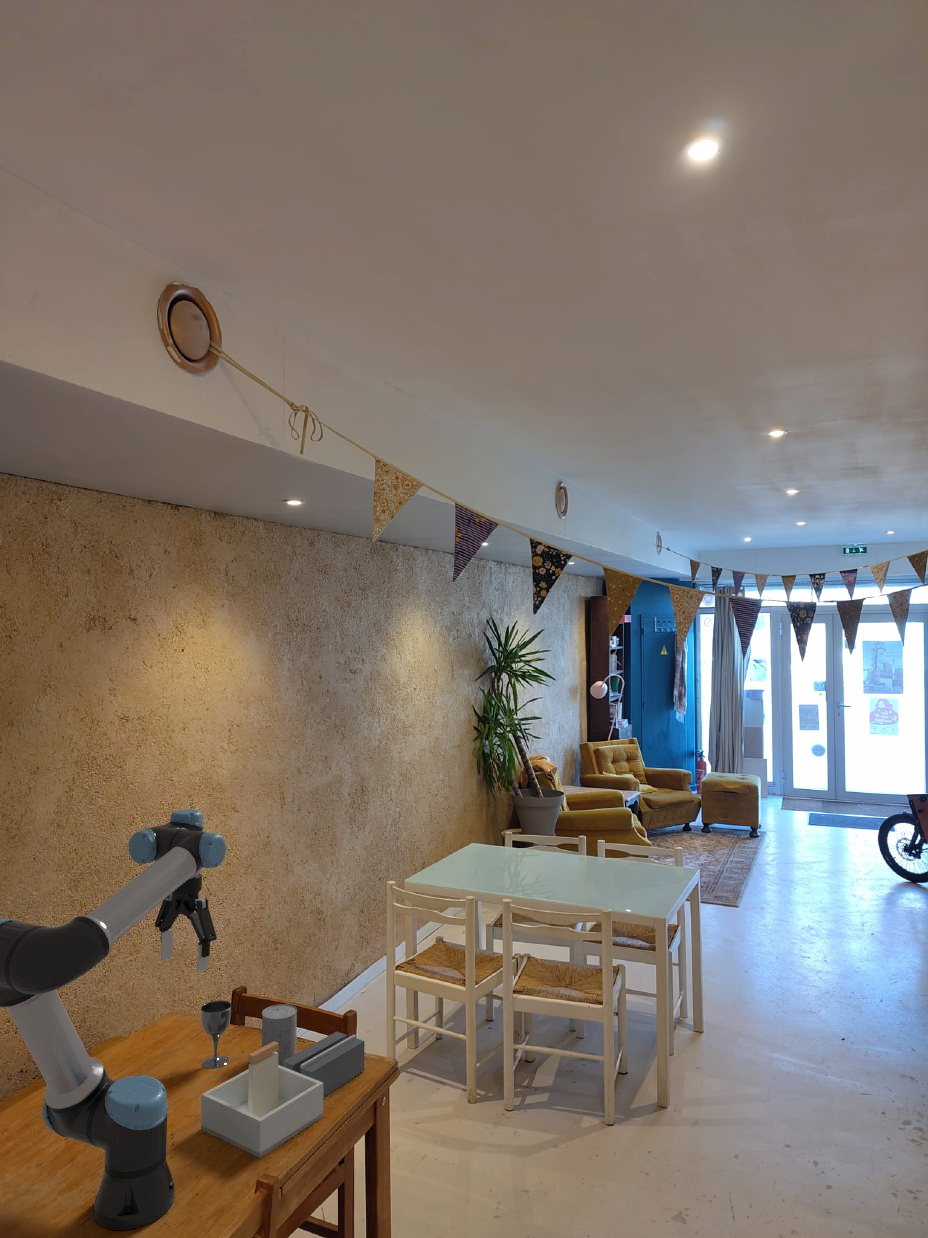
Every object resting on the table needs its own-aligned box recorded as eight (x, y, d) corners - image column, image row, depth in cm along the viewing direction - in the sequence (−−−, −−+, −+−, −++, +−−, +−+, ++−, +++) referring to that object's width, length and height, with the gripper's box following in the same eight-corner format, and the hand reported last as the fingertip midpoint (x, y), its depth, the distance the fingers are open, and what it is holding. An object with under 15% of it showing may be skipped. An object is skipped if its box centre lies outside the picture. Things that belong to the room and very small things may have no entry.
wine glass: (194, 1067, 224) (194, 1010, 225) (211, 1053, 232) (212, 999, 232) (219, 1071, 222) (220, 1014, 222) (236, 1057, 229) (236, 1002, 230)
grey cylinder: (300, 1049, 234) (301, 1005, 235) (290, 1066, 225) (290, 1020, 225) (268, 1047, 235) (268, 1003, 236) (256, 1064, 226) (256, 1018, 226)
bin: (259, 1158, 184) (260, 1121, 184) (201, 1129, 195) (201, 1094, 195) (323, 1116, 200) (323, 1083, 201) (265, 1092, 211) (265, 1060, 212)
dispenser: (311, 1105, 205) (311, 1069, 206) (282, 1093, 211) (282, 1058, 211) (364, 1071, 222) (364, 1038, 222) (336, 1061, 227) (336, 1028, 228)
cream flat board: (252, 1127, 194) (253, 1056, 195) (247, 1125, 195) (248, 1054, 195) (278, 1112, 201) (278, 1043, 201) (273, 1110, 201) (274, 1041, 202)
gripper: (232, 879, 197) (231, 970, 196) (166, 864, 211) (165, 949, 210) (206, 886, 191) (205, 980, 190) (140, 870, 205) (139, 958, 204)
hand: (184, 964), depth 200 cm, fingers open, 13 cm apart
